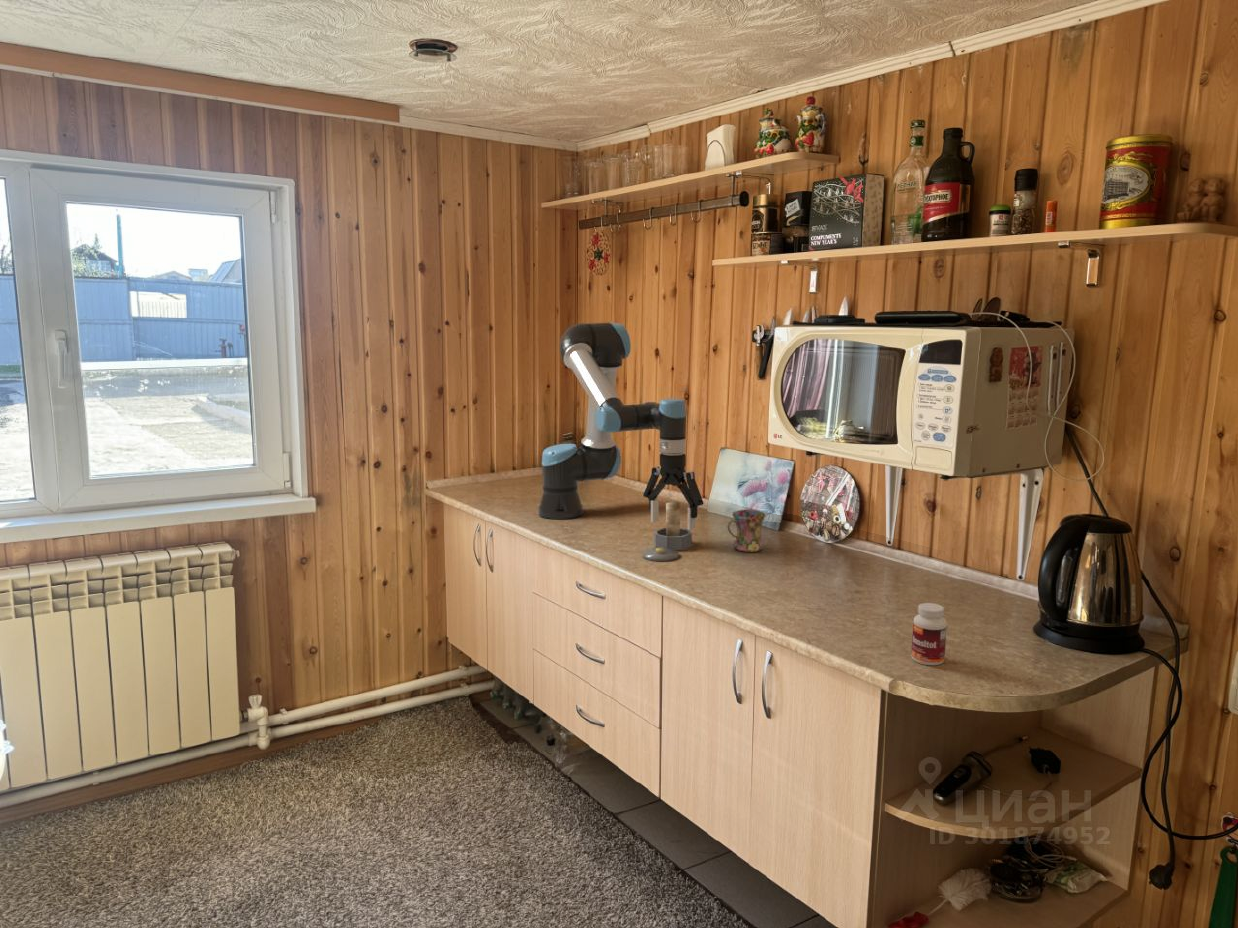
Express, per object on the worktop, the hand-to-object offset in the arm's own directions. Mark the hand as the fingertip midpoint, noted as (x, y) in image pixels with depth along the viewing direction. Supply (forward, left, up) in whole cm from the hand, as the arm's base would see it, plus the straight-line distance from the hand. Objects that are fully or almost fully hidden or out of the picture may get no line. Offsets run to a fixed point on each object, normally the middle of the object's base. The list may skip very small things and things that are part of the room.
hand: (672, 525), depth 251 cm
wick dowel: (0, 0, -6) cm, 6 cm away
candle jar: (0, 0, -6) cm, 6 cm away
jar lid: (+4, -11, -6) cm, 13 cm away
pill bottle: (+89, -34, -6) cm, 95 cm away
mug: (+19, +9, -6) cm, 22 cm away
